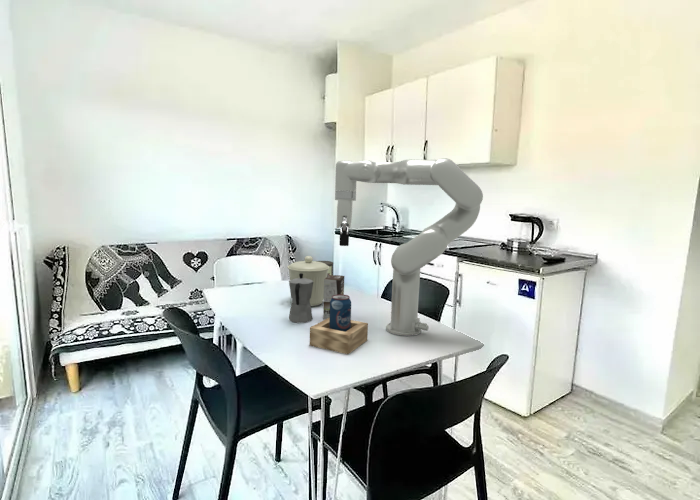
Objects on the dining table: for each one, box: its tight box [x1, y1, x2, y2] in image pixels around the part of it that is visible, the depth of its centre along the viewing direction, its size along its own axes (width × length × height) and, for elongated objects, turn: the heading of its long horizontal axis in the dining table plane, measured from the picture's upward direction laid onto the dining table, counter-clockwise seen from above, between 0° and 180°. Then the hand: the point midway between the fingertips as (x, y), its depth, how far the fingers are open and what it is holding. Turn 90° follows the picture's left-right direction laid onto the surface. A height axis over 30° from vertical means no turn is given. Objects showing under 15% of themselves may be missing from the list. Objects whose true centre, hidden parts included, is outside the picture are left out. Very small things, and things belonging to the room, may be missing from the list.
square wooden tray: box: [309, 317, 369, 355], centre depth 136 cm, size 14×14×6 cm
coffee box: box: [322, 274, 345, 321], centre depth 162 cm, size 9×6×16 cm
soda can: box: [329, 294, 352, 332], centre depth 135 cm, size 7×7×12 cm
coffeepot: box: [288, 273, 314, 324], centre depth 157 cm, size 15×9×18 cm, turn 176°
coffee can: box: [316, 260, 334, 277], centre depth 205 cm, size 10×10×14 cm
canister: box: [286, 255, 329, 307], centre depth 180 cm, size 18×18×21 cm
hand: (344, 243), depth 150 cm, fingers open, 9 cm apart
